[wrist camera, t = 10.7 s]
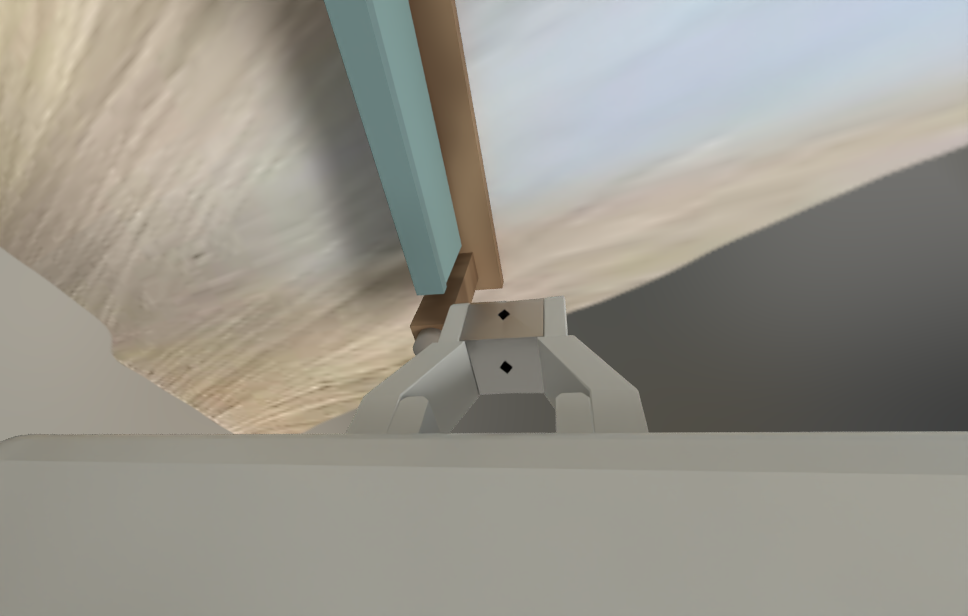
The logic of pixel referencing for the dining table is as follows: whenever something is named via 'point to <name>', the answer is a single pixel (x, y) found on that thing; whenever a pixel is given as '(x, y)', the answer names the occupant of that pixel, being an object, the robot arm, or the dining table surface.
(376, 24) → the gate
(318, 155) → the dining table surface
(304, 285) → the dining table surface
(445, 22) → the gate frame
